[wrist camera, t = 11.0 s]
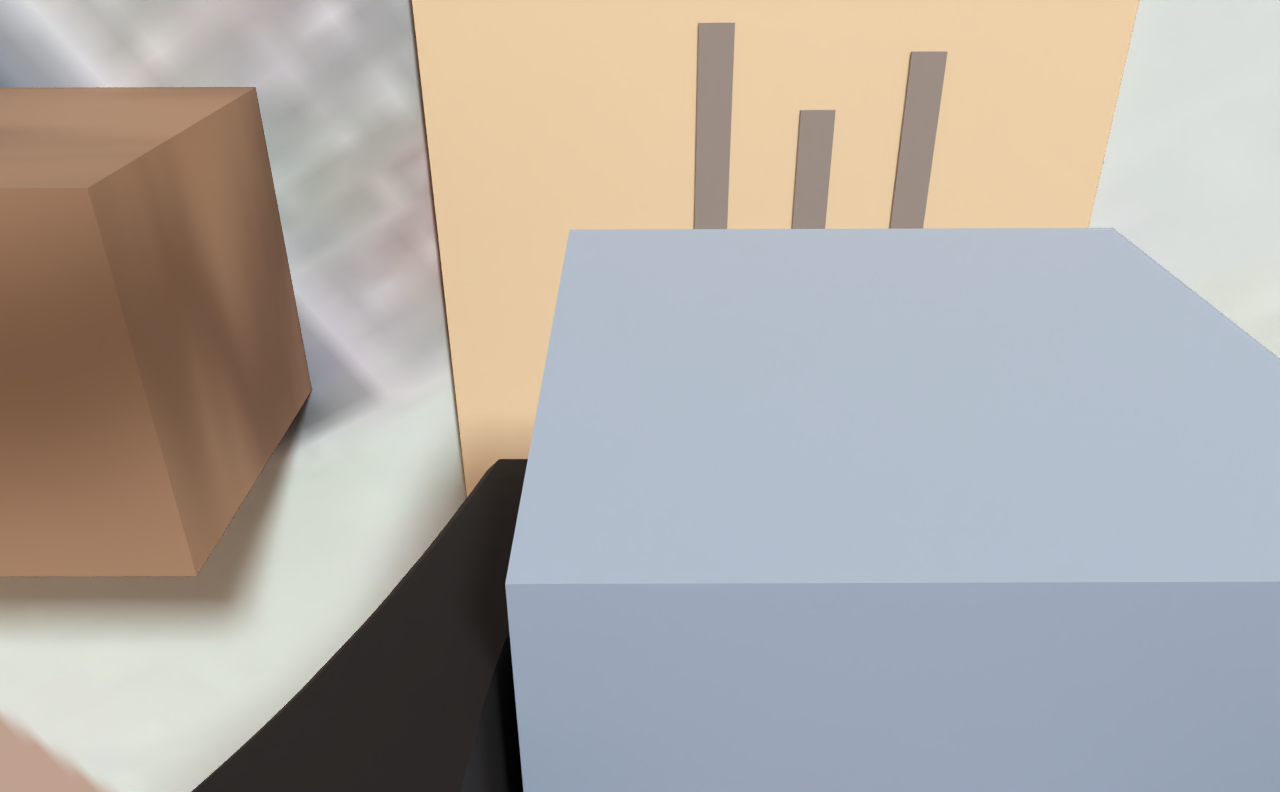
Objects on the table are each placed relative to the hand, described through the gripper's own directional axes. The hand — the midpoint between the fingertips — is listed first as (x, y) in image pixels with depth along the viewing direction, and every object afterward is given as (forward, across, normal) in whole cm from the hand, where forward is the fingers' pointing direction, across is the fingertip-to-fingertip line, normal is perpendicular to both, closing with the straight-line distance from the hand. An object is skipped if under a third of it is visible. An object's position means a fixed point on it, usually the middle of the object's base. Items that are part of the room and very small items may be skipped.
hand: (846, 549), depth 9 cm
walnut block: (+8, +10, 0) cm, 13 cm away
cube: (+2, 0, 0) cm, 2 cm away
